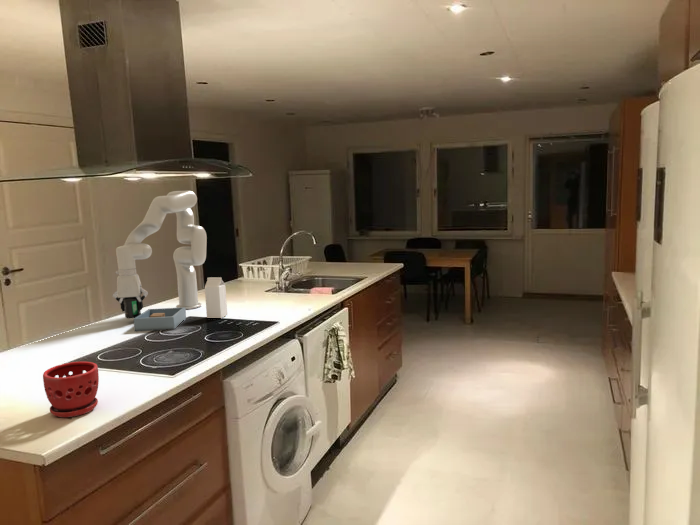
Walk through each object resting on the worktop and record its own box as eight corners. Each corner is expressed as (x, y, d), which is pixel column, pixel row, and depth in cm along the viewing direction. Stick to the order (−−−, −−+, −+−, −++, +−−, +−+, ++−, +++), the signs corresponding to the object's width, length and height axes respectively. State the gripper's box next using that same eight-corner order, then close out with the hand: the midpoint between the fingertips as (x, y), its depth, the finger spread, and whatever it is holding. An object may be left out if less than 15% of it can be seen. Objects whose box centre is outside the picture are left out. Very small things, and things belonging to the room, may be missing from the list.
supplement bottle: (139, 317, 248) (136, 292, 246) (123, 319, 247) (120, 293, 245) (142, 314, 255) (139, 289, 253) (126, 315, 253) (123, 290, 251)
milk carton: (221, 319, 250) (218, 278, 247) (206, 318, 251) (203, 278, 249) (227, 315, 256) (224, 276, 254) (213, 315, 258) (210, 276, 255)
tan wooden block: (154, 324, 241) (153, 313, 240) (165, 323, 241) (164, 312, 240) (150, 327, 236) (149, 315, 235) (162, 326, 236) (161, 315, 235)
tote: (149, 320, 252) (148, 309, 252) (186, 318, 253) (185, 307, 252) (134, 331, 232) (133, 318, 232) (174, 329, 233) (173, 316, 233)
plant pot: (36, 417, 142) (30, 373, 140) (78, 399, 153) (74, 359, 152) (70, 424, 136) (66, 378, 135) (112, 405, 148) (108, 363, 147)
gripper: (105, 275, 243) (110, 313, 246) (144, 272, 244) (148, 310, 247) (111, 272, 251) (116, 309, 253) (149, 269, 251) (153, 307, 254)
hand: (132, 309), depth 250 cm, fingers closed on supplement bottle, 6 cm apart
